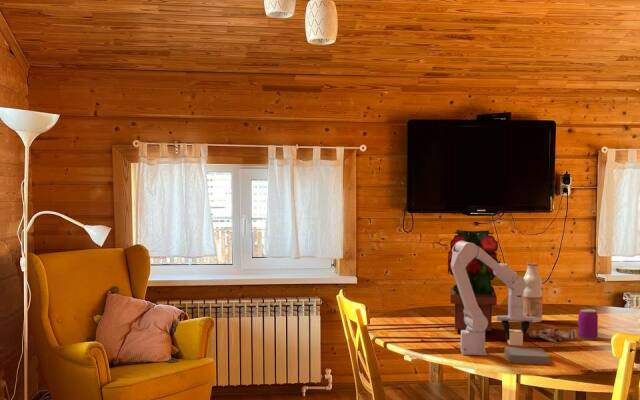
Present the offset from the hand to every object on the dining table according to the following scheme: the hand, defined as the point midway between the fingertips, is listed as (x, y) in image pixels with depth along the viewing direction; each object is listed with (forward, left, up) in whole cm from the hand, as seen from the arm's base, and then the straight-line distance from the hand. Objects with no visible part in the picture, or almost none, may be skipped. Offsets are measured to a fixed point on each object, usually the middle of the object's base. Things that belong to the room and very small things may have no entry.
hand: (515, 339), depth 254 cm
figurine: (+18, +19, -5) cm, 27 cm away
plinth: (+2, -12, -5) cm, 13 cm away
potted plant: (-13, +34, -5) cm, 37 cm away
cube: (0, 0, -2) cm, 2 cm away
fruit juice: (+18, +60, -5) cm, 63 cm away
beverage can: (+35, +27, -5) cm, 45 cm away
